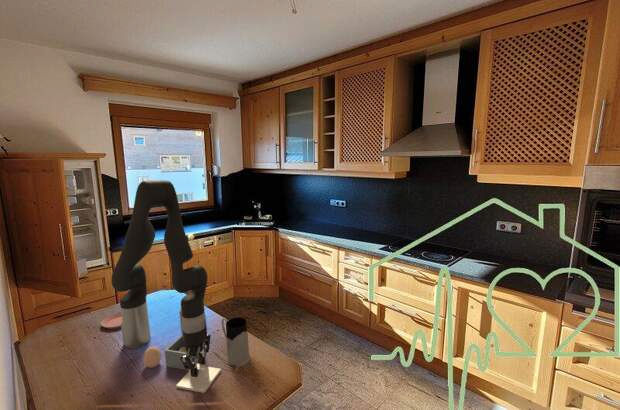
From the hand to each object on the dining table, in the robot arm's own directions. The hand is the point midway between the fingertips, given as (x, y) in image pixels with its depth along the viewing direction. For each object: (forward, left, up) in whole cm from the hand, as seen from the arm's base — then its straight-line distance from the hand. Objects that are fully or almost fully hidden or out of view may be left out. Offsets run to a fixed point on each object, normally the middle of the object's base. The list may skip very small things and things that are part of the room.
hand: (198, 371), depth 104 cm
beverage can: (-17, +18, -4) cm, 25 cm away
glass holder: (+6, +14, -4) cm, 16 cm away
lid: (0, 0, -3) cm, 3 cm away
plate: (-59, +24, -4) cm, 64 cm away
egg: (-21, +2, -4) cm, 21 cm away
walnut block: (-11, +7, -3) cm, 14 cm away
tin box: (-11, +7, -3) cm, 14 cm away
